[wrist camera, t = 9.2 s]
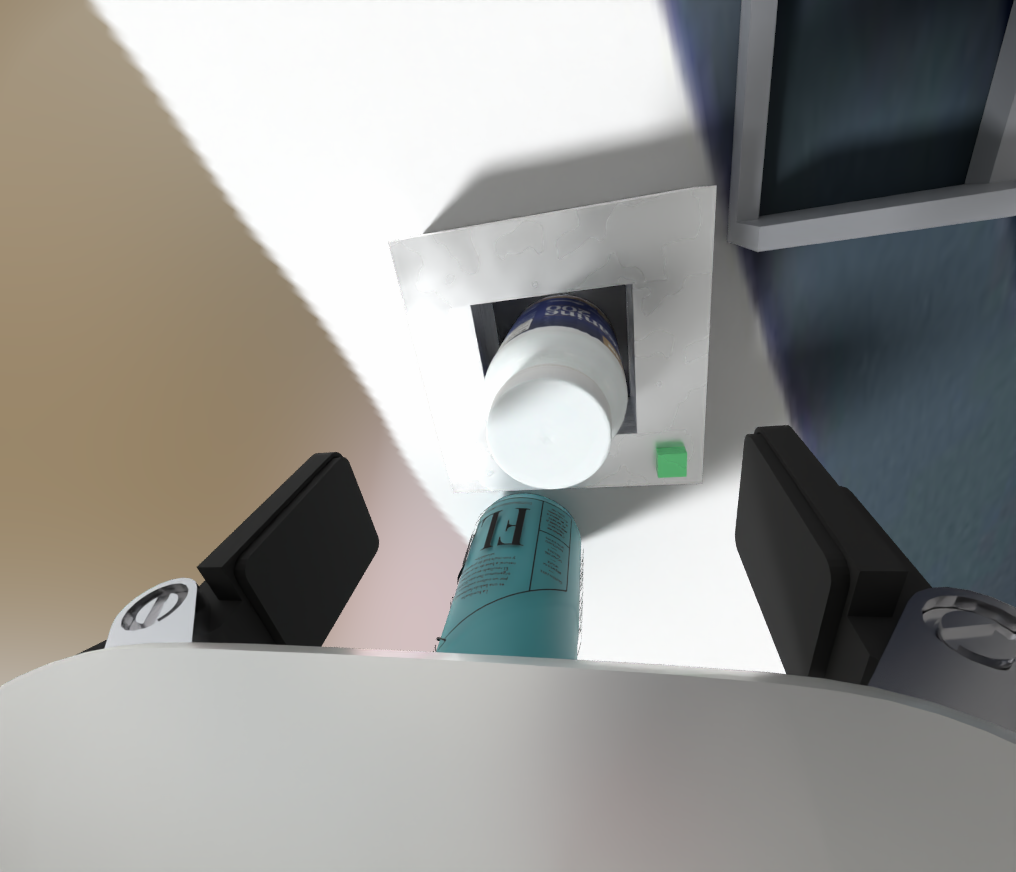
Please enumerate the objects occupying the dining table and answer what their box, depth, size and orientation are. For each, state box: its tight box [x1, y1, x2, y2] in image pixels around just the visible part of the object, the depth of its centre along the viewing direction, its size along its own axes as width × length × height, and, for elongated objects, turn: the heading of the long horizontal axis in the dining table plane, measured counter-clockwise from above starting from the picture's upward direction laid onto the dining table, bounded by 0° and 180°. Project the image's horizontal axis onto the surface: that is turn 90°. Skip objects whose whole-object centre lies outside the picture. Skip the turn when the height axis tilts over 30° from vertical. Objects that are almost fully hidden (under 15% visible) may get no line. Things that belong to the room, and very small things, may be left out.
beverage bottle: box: [433, 493, 584, 660], centre depth 19 cm, size 6×7×20 cm
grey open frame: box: [727, 0, 1016, 252], centre depth 14 cm, size 9×9×4 cm
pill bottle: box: [482, 295, 628, 489], centre depth 18 cm, size 5×5×10 cm
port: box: [388, 185, 717, 493], centre depth 20 cm, size 12×12×5 cm
